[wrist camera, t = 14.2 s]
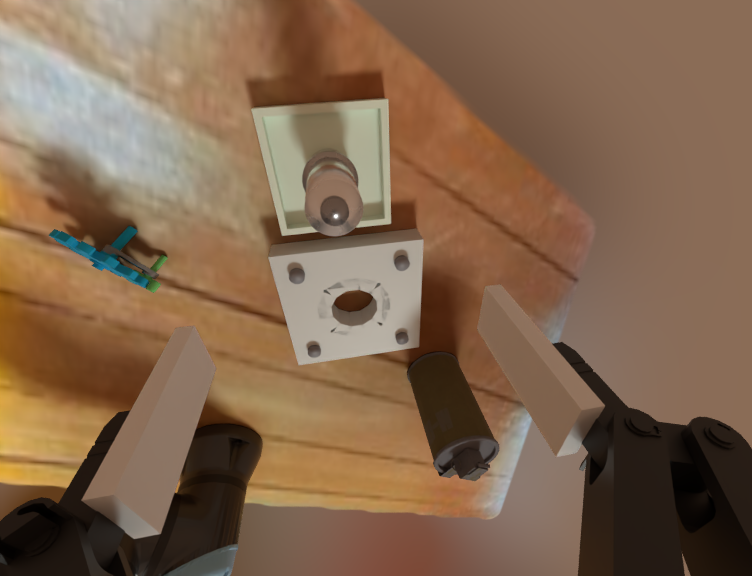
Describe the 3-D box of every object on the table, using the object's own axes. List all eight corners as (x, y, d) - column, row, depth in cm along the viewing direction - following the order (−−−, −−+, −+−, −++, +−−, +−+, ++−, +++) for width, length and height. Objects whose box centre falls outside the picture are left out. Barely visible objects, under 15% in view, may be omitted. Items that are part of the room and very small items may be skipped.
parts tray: (283, 229, 41) (282, 235, 40) (254, 106, 33) (251, 108, 32) (388, 218, 43) (391, 223, 41) (384, 97, 35) (388, 99, 33)
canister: (429, 344, 58) (473, 451, 42) (468, 360, 62) (522, 462, 46) (395, 380, 62) (423, 490, 46) (435, 393, 67) (473, 497, 50)
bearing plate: (299, 349, 54) (298, 369, 50) (271, 244, 42) (267, 260, 39) (413, 333, 56) (420, 350, 52) (416, 228, 44) (425, 242, 41)
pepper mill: (308, 198, 39) (305, 249, 28) (299, 146, 36) (291, 179, 24) (356, 193, 40) (372, 241, 28) (351, 141, 36) (368, 172, 25)
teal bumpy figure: (42, 240, 36) (45, 238, 29) (81, 202, 38) (93, 192, 31) (139, 293, 43) (160, 300, 36) (168, 258, 45) (193, 260, 39)
